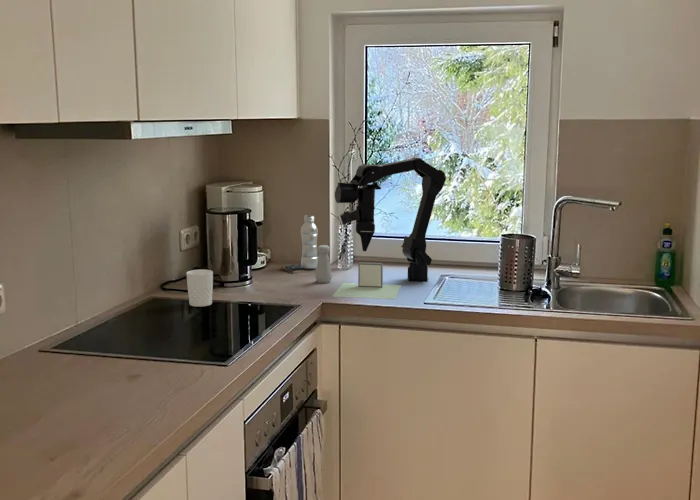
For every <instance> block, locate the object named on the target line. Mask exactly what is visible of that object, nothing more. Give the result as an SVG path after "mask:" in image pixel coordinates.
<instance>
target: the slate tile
mask: <svg viewBox="0 0 700 500" xmlns="http://www.w3.org/2000/svg"><path fill="white" fill-rule="evenodd" d="M357 267H358V271H357V272H358V274H357V275H358V276H357V278H358V282H357V284H358V287H378V288H382V287H383V285H384V283H383V282H384V264H383V263H382V262H360V261H359V262H358V266H357Z"/></svg>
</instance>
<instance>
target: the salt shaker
mask: <svg viewBox="0 0 700 500" xmlns="http://www.w3.org/2000/svg"><path fill="white" fill-rule="evenodd" d="M330 251H331V248H330V246H329V245H327V244H322V245H321V244H320V245H319V246H318V245H317V254H318V263H317V268H315V269H316V270H315V275H314V276H315V280H316V282H317V283H320V284H328V283H330V282H331V280H332V279H333V274H332V268H331V263H330V258H329V253H330Z"/></svg>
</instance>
